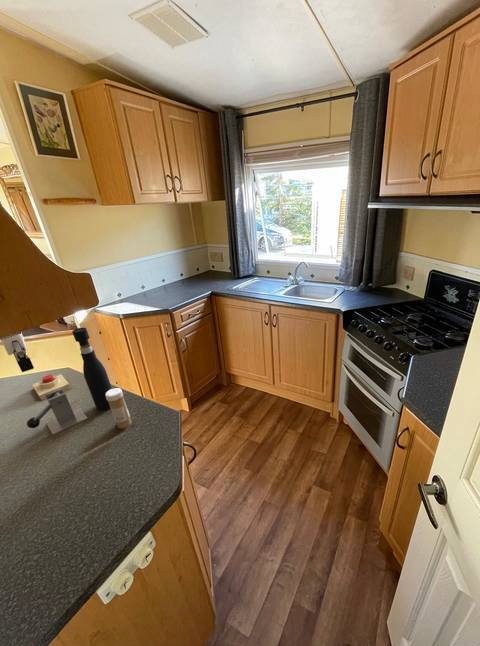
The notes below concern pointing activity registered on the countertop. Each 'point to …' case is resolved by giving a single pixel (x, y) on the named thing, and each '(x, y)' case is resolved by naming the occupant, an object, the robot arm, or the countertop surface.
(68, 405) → the grey lever stand
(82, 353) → the dark water bottle
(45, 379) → the button
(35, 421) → the lever handle
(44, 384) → the control block
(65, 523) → the countertop surface
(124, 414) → the sprinkles bottle
